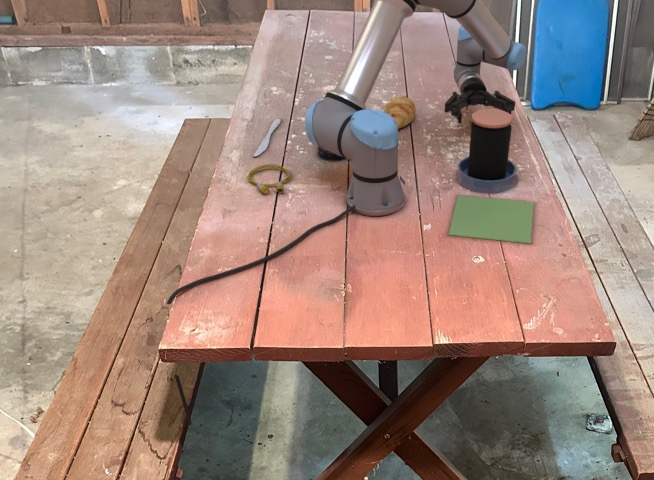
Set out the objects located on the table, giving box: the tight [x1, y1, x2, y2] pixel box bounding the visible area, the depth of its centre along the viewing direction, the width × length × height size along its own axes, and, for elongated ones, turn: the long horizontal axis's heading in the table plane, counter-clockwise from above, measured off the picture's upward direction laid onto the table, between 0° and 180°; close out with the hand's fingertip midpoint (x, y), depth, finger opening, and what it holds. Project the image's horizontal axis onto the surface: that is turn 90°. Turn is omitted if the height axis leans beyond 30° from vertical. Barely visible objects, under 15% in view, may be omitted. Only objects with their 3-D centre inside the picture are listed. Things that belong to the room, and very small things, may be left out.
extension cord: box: [247, 163, 292, 195], centre depth 194 cm, size 12×16×2 cm
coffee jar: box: [468, 108, 513, 180], centre depth 189 cm, size 11×11×18 cm
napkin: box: [448, 194, 535, 245], centre depth 178 cm, size 20×20×1 cm
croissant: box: [383, 96, 416, 130], centre depth 226 cm, size 21×10×8 cm, turn 173°
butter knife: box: [252, 118, 282, 157], centre depth 216 cm, size 1×27×3 cm
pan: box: [457, 156, 518, 194], centre depth 194 cm, size 16×16×4 cm
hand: (484, 118), depth 194 cm, fingers open, 13 cm apart
